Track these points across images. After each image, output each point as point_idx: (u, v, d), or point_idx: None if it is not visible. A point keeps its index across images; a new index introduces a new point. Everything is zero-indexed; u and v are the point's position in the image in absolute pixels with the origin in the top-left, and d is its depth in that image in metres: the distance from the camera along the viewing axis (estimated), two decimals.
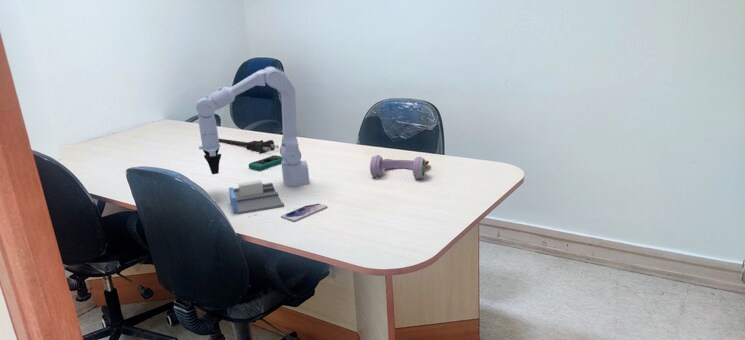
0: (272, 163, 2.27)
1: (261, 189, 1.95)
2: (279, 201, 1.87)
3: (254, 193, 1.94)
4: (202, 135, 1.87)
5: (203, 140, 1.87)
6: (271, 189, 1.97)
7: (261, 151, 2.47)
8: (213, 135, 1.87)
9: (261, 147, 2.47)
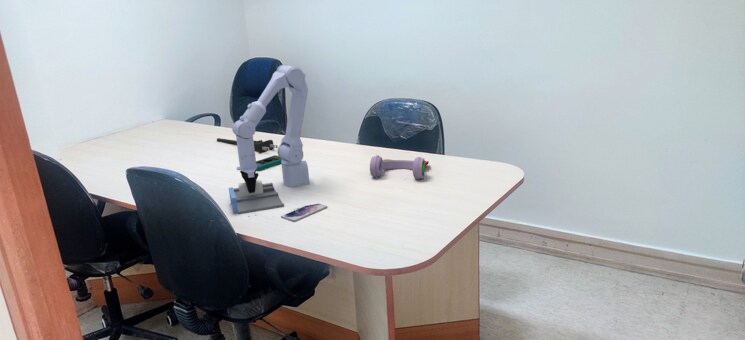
0: (272, 163, 2.27)
1: (261, 189, 1.95)
2: (279, 201, 1.87)
3: (254, 193, 1.94)
4: (240, 156, 1.89)
5: (241, 161, 1.89)
6: (271, 189, 1.97)
7: (260, 151, 2.48)
8: (251, 156, 1.89)
9: (260, 146, 2.48)
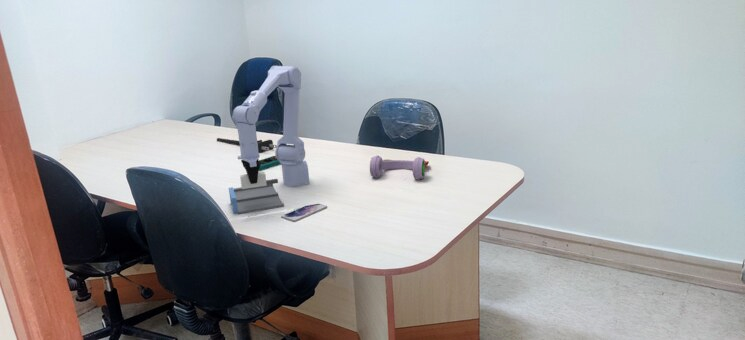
0: (271, 163, 2.27)
1: (264, 181, 1.83)
2: (279, 201, 1.87)
3: (257, 185, 1.82)
4: (241, 144, 1.77)
5: (242, 150, 1.77)
6: (274, 181, 1.85)
7: (260, 151, 2.48)
8: (253, 144, 1.77)
9: (260, 146, 2.48)
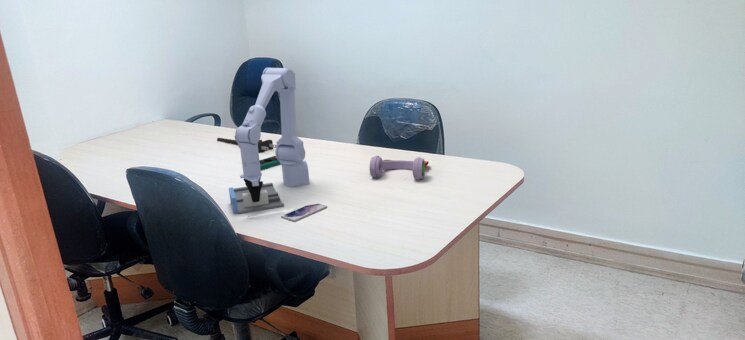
0: (271, 164, 2.27)
1: (266, 199, 1.85)
2: (279, 201, 1.87)
3: (259, 203, 1.84)
4: (244, 164, 1.78)
5: (245, 169, 1.79)
6: (276, 199, 1.87)
7: (259, 150, 2.48)
8: (255, 164, 1.79)
9: (259, 146, 2.48)
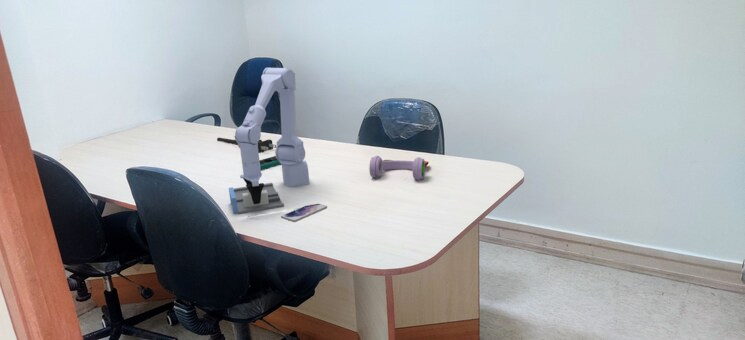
0: (271, 164, 2.27)
1: (266, 199, 1.85)
2: (279, 201, 1.87)
3: (259, 204, 1.84)
4: (244, 164, 1.78)
5: (245, 169, 1.79)
6: (276, 199, 1.87)
7: (259, 150, 2.49)
8: (255, 164, 1.79)
9: (259, 146, 2.48)
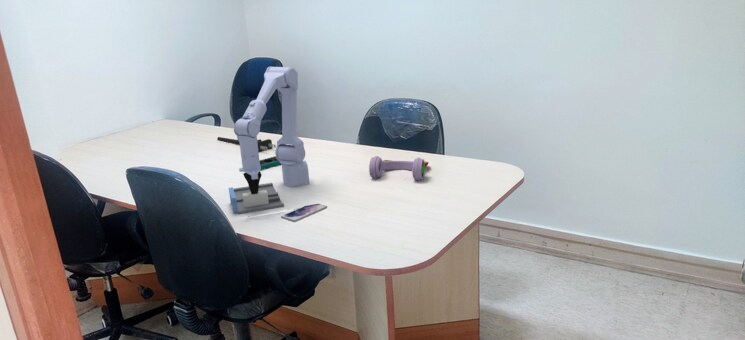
0: (271, 164, 2.26)
1: (266, 199, 1.85)
2: (279, 201, 1.87)
3: (259, 204, 1.84)
4: (243, 157, 1.78)
5: (244, 162, 1.78)
6: (276, 199, 1.87)
7: (258, 150, 2.49)
8: (254, 157, 1.78)
9: (258, 146, 2.49)
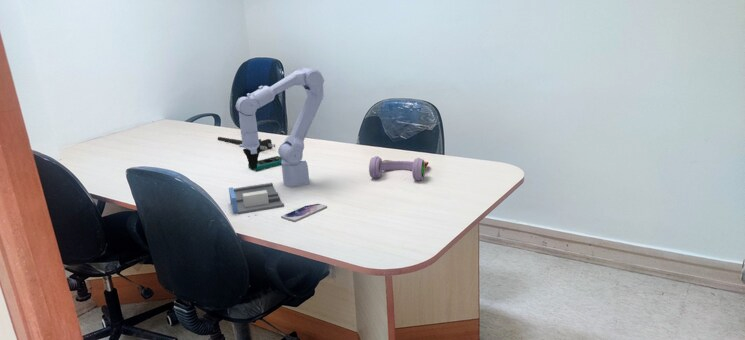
0: (270, 164, 2.26)
1: (266, 199, 1.85)
2: (279, 201, 1.87)
3: (259, 204, 1.84)
4: (243, 133, 1.89)
5: (244, 138, 1.89)
6: (276, 199, 1.87)
7: None
8: (254, 133, 1.89)
9: None
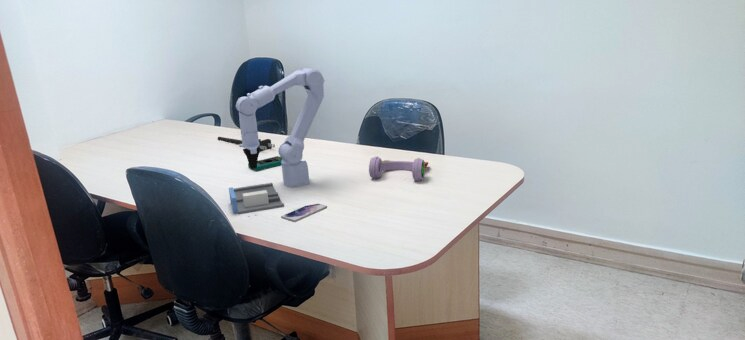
0: (270, 164, 2.26)
1: (266, 199, 1.85)
2: (279, 201, 1.87)
3: (259, 204, 1.84)
4: (243, 133, 1.89)
5: (243, 138, 1.90)
6: (276, 199, 1.87)
7: None
8: (253, 133, 1.90)
9: None
